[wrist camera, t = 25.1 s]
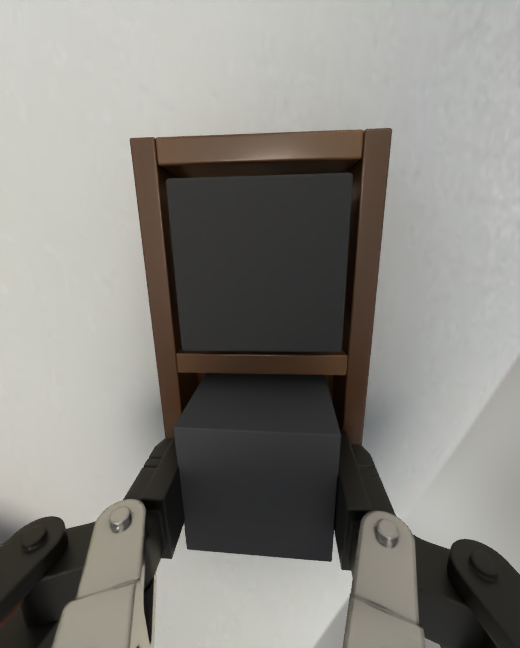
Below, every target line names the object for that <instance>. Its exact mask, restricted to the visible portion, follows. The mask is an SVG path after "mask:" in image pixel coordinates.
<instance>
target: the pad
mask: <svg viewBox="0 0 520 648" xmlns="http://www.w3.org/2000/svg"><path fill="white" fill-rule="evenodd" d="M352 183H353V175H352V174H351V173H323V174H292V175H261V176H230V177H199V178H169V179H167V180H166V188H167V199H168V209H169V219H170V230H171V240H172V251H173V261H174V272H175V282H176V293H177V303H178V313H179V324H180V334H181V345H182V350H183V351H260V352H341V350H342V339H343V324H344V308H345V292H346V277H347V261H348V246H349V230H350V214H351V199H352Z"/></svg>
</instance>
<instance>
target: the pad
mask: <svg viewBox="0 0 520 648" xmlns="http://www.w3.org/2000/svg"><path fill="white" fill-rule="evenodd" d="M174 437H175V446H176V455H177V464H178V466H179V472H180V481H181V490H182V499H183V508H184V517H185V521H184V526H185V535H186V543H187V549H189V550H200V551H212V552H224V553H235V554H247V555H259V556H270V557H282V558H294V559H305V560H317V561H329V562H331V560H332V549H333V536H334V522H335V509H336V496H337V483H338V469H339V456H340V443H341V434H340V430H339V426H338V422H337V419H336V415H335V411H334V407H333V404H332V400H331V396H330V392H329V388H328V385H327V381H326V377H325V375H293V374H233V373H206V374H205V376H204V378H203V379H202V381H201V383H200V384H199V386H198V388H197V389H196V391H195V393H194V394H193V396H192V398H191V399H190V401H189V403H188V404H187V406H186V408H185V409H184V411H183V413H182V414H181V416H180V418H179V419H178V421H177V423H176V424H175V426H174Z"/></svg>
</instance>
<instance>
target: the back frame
mask: <svg viewBox="0 0 520 648" xmlns="http://www.w3.org/2000/svg"><path fill="white" fill-rule="evenodd" d="M391 136H392V129H391V128H381V129H366V130H364V132H363V130H335V131H309V132H283V133H258V134H232V135H206V136H180V137H158V138H156V139H155V138H154V137H146V138H130V145H131V154H132V162H133V170H134V179H135V187H136V195H137V204H138V212H139V220H140V229H141V237H142V245H143V254H144V262H145V270H146V279H147V287H148V295H149V304H150V312H151V320H152V329H153V337H154V345H155V354H156V362H157V370H158V379H159V387H160V395H161V404H162V412H163V420H164V429H165V437H166V438H173V437H174V426H175V424H176V423H177V421H178V419H179V418H180V416H181V414H182V413H183V411H184V409H185V408H186V406H187V404H188V403H189V401H190V399H191V398H192V396H193V394H194V393H195V391H196V389H197V388H198V386H199V384H200V383H201V381H202V379H203V378H204V376H205V374H206V373H233V374H293V375H325V377H326V381H327V385H328V388H329V392H330V396H331V400H332V404H333V407H334V411H335V415H336V419H337V422H338V426H339V430H345V431H346V432H347V435H348V438H349V441H350V444H358V445H362V437H363V427H364V417H365V406H366V396H367V385H368V375H369V365H370V354H371V344H372V333H373V323H374V313H375V302H376V292H377V281H378V271H379V261H380V250H381V240H382V229H383V219H384V209H385V198H386V188H387V177H388V167H389V157H390V146H391ZM323 173H351V174H352V175H353V183H352V199H351V214H350V230H349V246H348V261H347V277H346V292H345V308H344V324H343V339H342V350H341V352H260V351H183V350H182V345H181V334H180V324H179V313H178V303H177V293H176V282H175V272H174V261H173V251H172V240H171V230H170V219H169V209H168V199H167V188H166V180H167V179H169V178H199V177H230V176H261V175H292V174H323Z"/></svg>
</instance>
